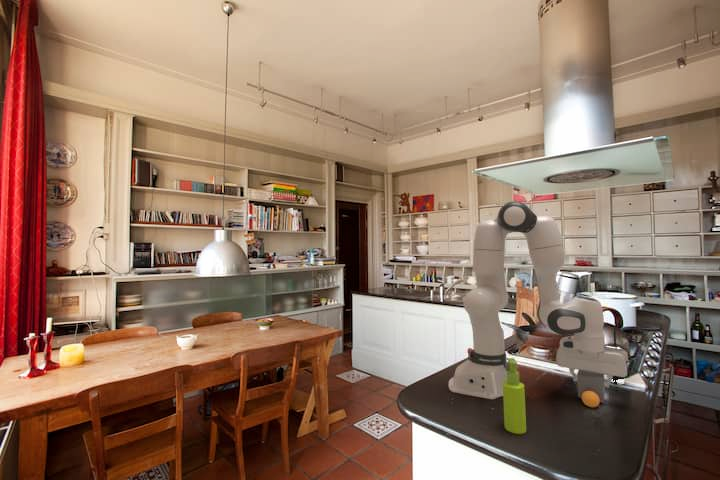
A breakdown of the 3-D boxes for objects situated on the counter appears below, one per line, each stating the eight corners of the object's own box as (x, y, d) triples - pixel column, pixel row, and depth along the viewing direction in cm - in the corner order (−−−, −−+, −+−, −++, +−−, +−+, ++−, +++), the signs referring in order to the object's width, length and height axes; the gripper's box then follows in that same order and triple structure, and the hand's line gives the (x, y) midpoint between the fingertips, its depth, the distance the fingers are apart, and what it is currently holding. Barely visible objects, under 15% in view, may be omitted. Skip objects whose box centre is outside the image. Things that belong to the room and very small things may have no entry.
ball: (584, 409, 112) (583, 395, 111) (580, 401, 116) (579, 387, 116) (602, 411, 110) (601, 396, 110) (597, 402, 115) (596, 388, 114)
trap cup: (603, 402, 113) (602, 378, 113) (578, 397, 117) (577, 374, 117) (604, 394, 119) (603, 371, 119) (580, 389, 123) (579, 367, 123)
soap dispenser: (522, 422, 104) (519, 356, 105) (528, 434, 98) (525, 364, 98) (502, 421, 106) (499, 356, 106) (506, 432, 99) (503, 363, 99)
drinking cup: (634, 387, 127) (631, 333, 127) (611, 386, 128) (608, 332, 129) (622, 379, 134) (620, 328, 135) (601, 378, 136) (598, 327, 136)
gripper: (627, 346, 114) (629, 387, 114) (557, 337, 127) (558, 374, 126) (627, 350, 109) (629, 394, 109) (554, 341, 122) (556, 380, 121)
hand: (590, 383), depth 118 cm, fingers open, 7 cm apart
